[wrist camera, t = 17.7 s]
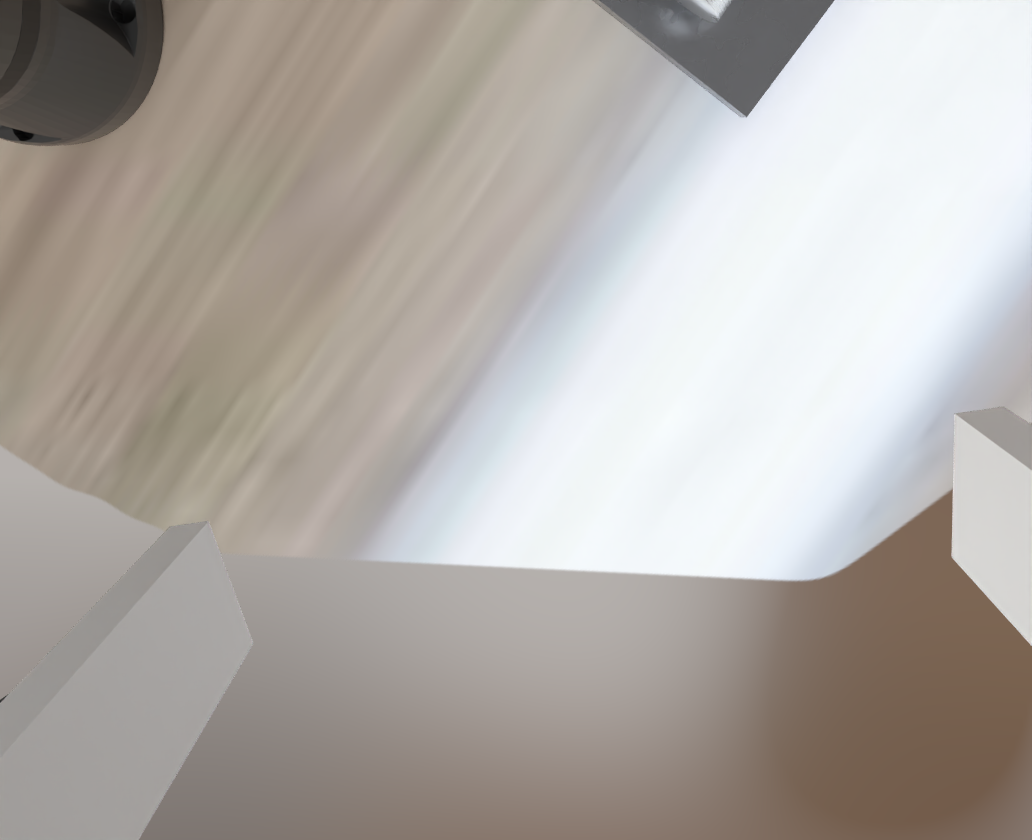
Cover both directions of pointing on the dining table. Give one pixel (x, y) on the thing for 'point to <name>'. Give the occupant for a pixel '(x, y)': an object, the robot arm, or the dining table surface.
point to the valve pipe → (723, 39)
